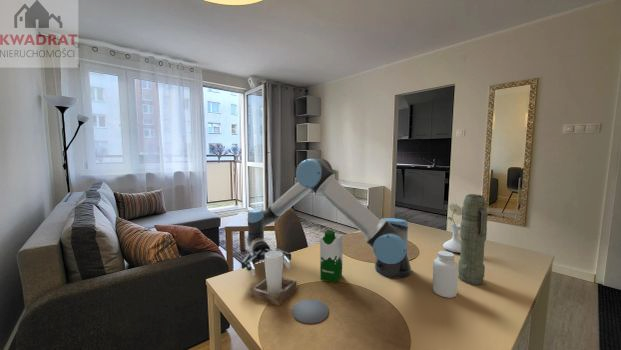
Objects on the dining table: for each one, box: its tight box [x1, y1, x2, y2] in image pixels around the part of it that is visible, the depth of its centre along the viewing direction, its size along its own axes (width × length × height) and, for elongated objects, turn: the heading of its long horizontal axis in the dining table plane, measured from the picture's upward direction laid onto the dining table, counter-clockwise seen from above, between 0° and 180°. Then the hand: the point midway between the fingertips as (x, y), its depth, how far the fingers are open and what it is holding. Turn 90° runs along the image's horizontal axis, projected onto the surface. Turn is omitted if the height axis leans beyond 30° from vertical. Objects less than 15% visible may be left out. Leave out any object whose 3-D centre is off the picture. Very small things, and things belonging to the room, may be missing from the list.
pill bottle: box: [432, 250, 459, 299], centre depth 92 cm, size 8×8×15 cm
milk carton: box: [319, 230, 344, 284], centre depth 103 cm, size 9×9×20 cm
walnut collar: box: [250, 277, 297, 307], centre depth 93 cm, size 12×12×3 cm
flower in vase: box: [442, 202, 462, 254], centre depth 132 cm, size 13×11×25 cm
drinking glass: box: [264, 251, 284, 295], centre depth 92 cm, size 7×7×15 cm
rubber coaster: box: [291, 298, 329, 325], centre depth 82 cm, size 12×12×1 cm
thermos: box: [457, 193, 489, 286], centre depth 100 cm, size 9×12×35 cm
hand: (272, 268), depth 93 cm, fingers open, 13 cm apart
